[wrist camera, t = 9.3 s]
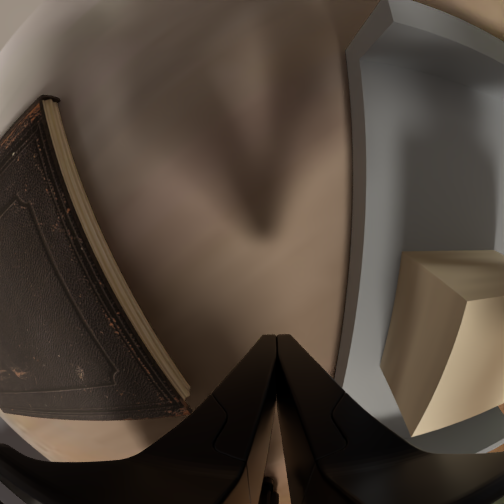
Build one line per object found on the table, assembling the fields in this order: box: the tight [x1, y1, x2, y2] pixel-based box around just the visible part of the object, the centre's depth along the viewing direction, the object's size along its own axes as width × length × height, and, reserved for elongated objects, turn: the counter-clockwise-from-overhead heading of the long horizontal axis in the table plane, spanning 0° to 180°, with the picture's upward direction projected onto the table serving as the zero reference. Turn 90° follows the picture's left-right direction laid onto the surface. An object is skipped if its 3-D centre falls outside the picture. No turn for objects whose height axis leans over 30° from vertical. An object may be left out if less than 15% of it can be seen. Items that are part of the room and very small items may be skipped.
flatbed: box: [334, 0, 504, 454], centre depth 8 cm, size 13×20×4 cm, turn 2°
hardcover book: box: [0, 95, 192, 421], centre depth 12 cm, size 16×23×2 cm
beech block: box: [380, 250, 504, 437], centre depth 7 cm, size 5×5×4 cm
